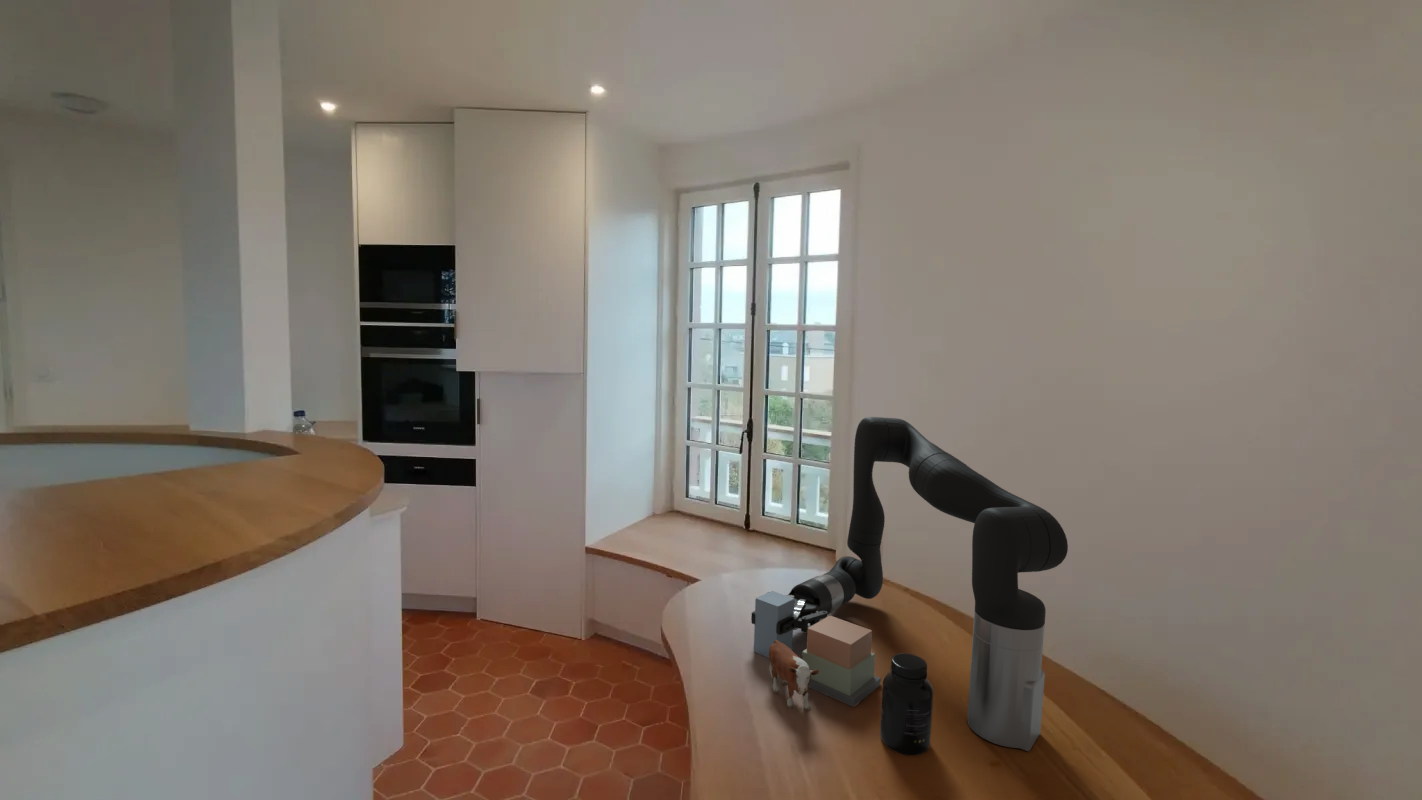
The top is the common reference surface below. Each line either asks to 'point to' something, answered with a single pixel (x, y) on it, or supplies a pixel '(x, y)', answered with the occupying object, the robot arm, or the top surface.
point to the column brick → (771, 621)
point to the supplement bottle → (906, 706)
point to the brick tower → (841, 660)
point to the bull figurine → (790, 672)
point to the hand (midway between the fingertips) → (765, 623)
